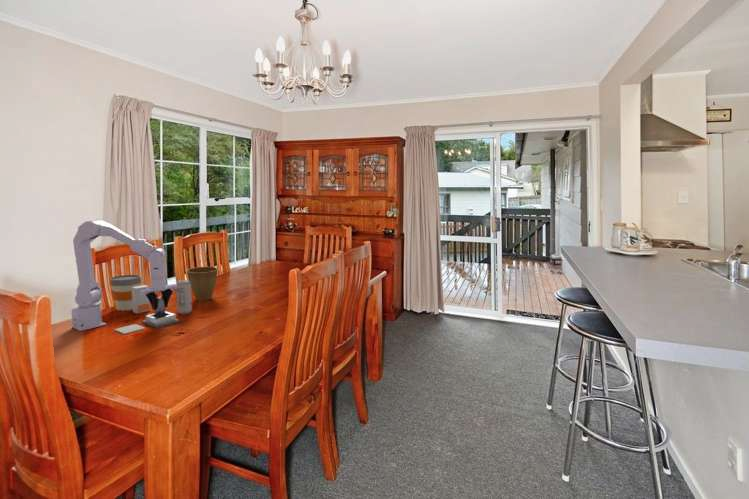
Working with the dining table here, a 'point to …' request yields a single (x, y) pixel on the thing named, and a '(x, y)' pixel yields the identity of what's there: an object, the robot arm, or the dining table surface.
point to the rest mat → (129, 329)
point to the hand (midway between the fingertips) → (160, 308)
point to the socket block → (160, 320)
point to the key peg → (160, 307)
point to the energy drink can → (184, 297)
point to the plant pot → (203, 281)
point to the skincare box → (140, 300)
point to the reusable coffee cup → (124, 290)
